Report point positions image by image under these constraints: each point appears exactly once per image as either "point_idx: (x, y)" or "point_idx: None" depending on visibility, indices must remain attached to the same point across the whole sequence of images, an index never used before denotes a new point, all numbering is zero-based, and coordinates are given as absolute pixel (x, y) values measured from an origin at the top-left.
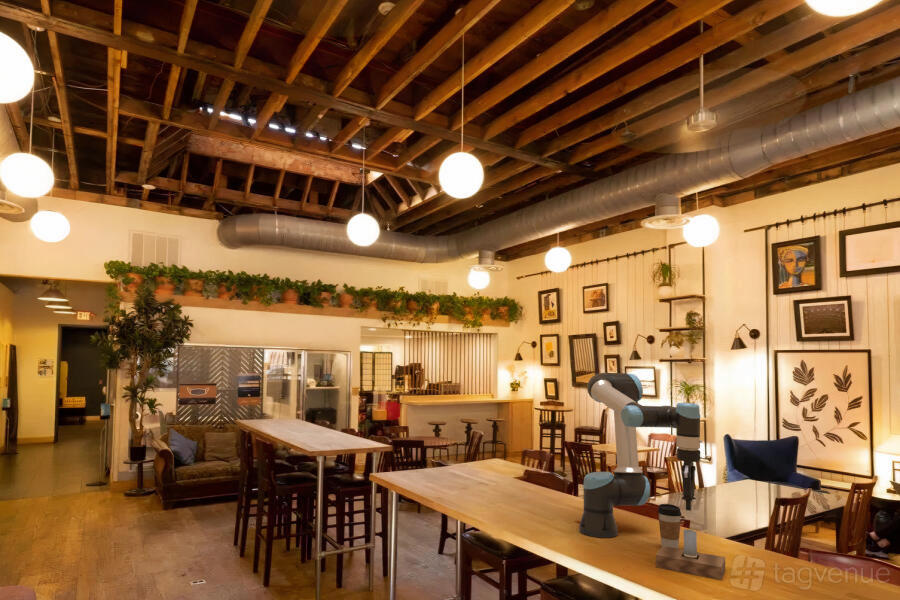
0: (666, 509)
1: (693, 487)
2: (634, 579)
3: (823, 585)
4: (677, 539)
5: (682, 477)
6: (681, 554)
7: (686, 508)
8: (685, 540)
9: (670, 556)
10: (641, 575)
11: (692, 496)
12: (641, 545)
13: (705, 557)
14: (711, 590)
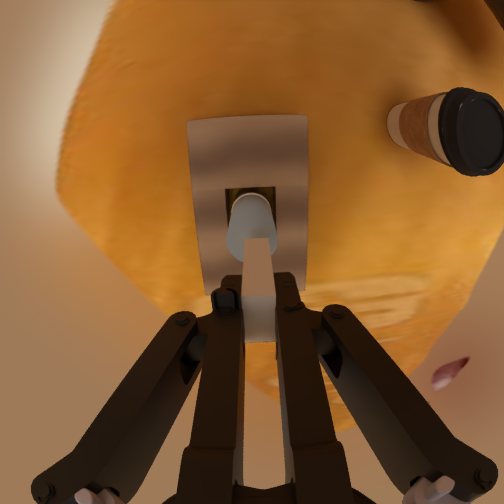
0: (456, 120)
1: (341, 394)
2: (76, 120)
3: None
4: (411, 149)
5: (67, 456)
6: (248, 185)
7: (221, 283)
8: (233, 215)
9: (201, 162)
10: (108, 119)
11: (276, 353)
12: (376, 52)
13: None
14: (130, 269)
